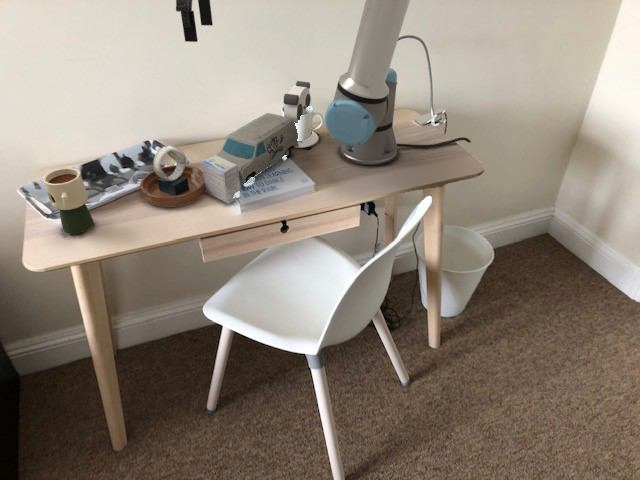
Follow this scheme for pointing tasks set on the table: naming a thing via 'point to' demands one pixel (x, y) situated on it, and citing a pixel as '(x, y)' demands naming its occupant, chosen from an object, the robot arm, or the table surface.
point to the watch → (172, 180)
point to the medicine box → (221, 178)
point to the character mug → (69, 199)
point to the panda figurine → (299, 108)
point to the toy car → (260, 144)
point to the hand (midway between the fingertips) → (199, 32)
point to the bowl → (165, 200)
